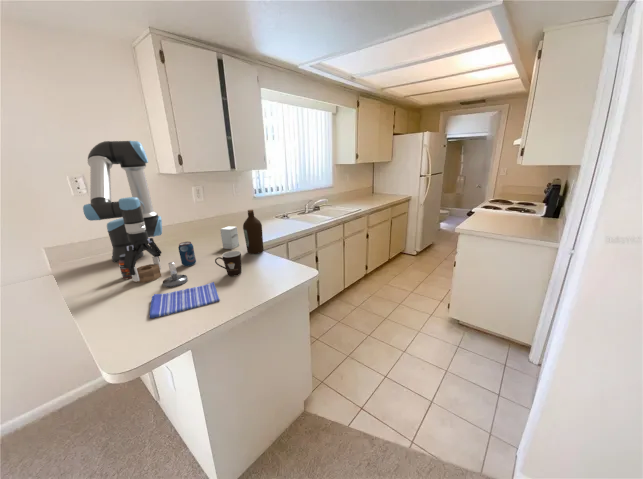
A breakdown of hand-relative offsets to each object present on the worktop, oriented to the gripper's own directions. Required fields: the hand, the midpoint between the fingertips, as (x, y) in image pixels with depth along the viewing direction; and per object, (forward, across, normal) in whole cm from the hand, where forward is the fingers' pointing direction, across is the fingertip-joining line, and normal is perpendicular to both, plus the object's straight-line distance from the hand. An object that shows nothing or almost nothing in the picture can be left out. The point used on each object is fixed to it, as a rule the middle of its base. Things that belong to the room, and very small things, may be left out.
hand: (147, 274), depth 126 cm
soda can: (+2, +17, -10) cm, 20 cm away
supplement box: (+2, +46, -20) cm, 50 cm away
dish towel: (+3, -19, -32) cm, 37 cm away
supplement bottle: (+2, +1, +11) cm, 11 cm away
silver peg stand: (+2, -4, -17) cm, 17 cm away
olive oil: (+2, +38, -39) cm, 54 cm away
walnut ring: (+2, 0, 0) cm, 2 cm away
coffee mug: (+2, +7, -39) cm, 40 cm away
